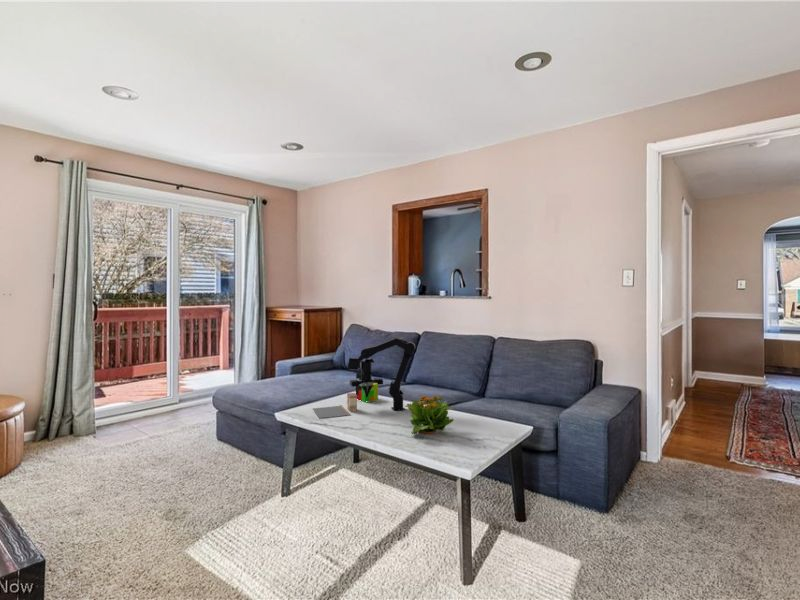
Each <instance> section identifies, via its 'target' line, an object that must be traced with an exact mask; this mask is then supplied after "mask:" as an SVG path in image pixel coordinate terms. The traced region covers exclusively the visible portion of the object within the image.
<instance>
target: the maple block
mask: <svg viewBox="0 0 800 600" xmlns="http://www.w3.org/2000/svg"><path fill="white" fill-rule="evenodd" d="M346 404H347V405H346V408H347V409H346V410H347V411H348V412H350V411H353V412H357V411H358V400H357V395H356V392H347V395H346ZM356 410H357V411H356Z"/></svg>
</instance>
